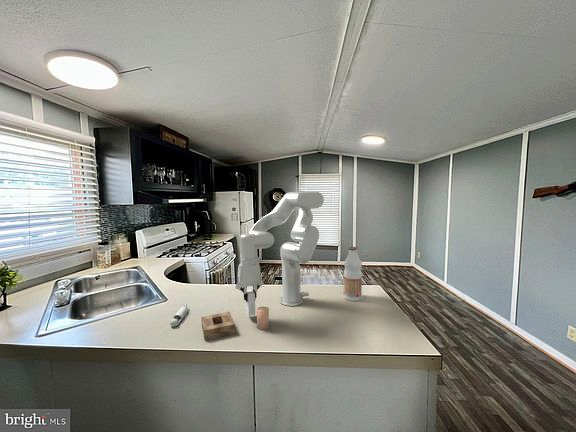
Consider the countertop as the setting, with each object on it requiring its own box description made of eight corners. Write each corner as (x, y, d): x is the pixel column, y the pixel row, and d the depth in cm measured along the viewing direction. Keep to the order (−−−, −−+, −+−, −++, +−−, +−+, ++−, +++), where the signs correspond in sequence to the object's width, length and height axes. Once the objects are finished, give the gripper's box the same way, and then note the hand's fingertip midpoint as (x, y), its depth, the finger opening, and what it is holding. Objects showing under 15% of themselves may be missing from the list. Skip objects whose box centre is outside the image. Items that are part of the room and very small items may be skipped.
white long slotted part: (179, 328, 109) (178, 313, 109) (167, 328, 109) (167, 313, 108) (191, 309, 127) (191, 296, 127) (182, 309, 127) (181, 297, 126)
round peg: (266, 323, 113) (266, 305, 112) (270, 328, 108) (270, 310, 107) (255, 325, 111) (255, 307, 110) (259, 331, 106) (258, 312, 105)
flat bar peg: (252, 310, 120) (251, 289, 119) (255, 314, 116) (254, 293, 115) (246, 311, 119) (245, 290, 118) (248, 316, 114) (248, 294, 113)
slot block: (229, 320, 115) (229, 311, 115) (235, 333, 104) (234, 323, 104) (201, 325, 111) (201, 317, 110) (204, 340, 100) (204, 330, 99)
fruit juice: (348, 302, 133) (349, 249, 131) (340, 295, 143) (341, 246, 140) (364, 300, 135) (365, 248, 133) (356, 294, 145) (357, 245, 142)
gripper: (263, 256, 122) (264, 294, 123) (229, 261, 115) (230, 300, 117) (268, 260, 115) (269, 300, 116) (232, 265, 108) (234, 307, 110)
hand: (250, 299), depth 117 cm, fingers closed on flat bar peg, 2 cm apart
